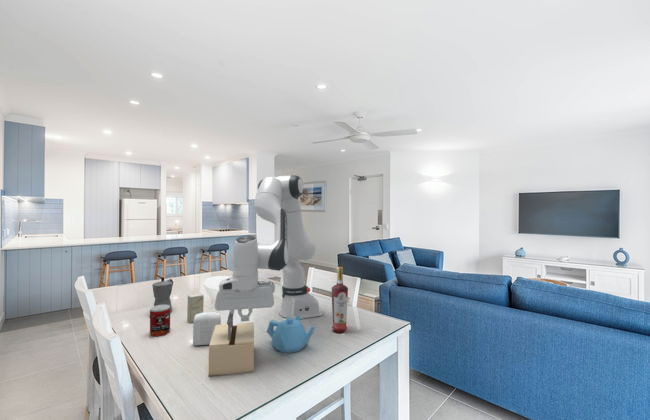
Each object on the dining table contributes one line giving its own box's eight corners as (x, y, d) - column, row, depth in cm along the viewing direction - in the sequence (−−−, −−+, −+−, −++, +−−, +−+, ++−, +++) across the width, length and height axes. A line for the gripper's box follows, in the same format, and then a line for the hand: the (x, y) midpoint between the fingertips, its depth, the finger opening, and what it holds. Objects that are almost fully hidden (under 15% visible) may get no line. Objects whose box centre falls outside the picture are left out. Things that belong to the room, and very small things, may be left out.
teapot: (300, 334, 128) (300, 309, 128) (316, 349, 115) (316, 321, 115) (265, 342, 121) (265, 315, 121) (278, 358, 108) (278, 328, 108)
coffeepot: (163, 317, 146) (163, 280, 146) (145, 317, 147) (145, 280, 147) (180, 307, 162) (181, 274, 162) (163, 306, 162) (164, 273, 162)
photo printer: (221, 340, 122) (221, 309, 122) (219, 344, 118) (220, 313, 118) (194, 342, 120) (194, 311, 120) (191, 347, 116) (192, 315, 116)
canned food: (149, 338, 123) (149, 311, 123) (150, 331, 130) (150, 305, 130) (170, 334, 127) (170, 308, 127) (170, 328, 134) (170, 303, 134)
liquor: (333, 334, 128) (334, 269, 128) (329, 328, 135) (329, 266, 135) (350, 333, 130) (350, 268, 130) (344, 326, 137) (345, 265, 137)
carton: (253, 346, 116) (253, 321, 116) (253, 371, 99) (253, 341, 99) (215, 350, 113) (215, 324, 113) (208, 376, 95) (208, 345, 95)
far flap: (234, 325, 114) (234, 306, 114) (231, 345, 97) (231, 323, 97) (215, 326, 113) (215, 307, 113) (209, 347, 96) (209, 324, 96)
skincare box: (190, 323, 139) (190, 297, 139) (186, 320, 142) (187, 295, 142) (203, 320, 143) (204, 294, 143) (200, 317, 147) (200, 292, 147)
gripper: (274, 278, 112) (274, 315, 112) (216, 281, 107) (216, 319, 107) (275, 282, 106) (275, 321, 106) (214, 285, 101) (214, 326, 101)
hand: (245, 320), depth 107 cm, fingers closed
